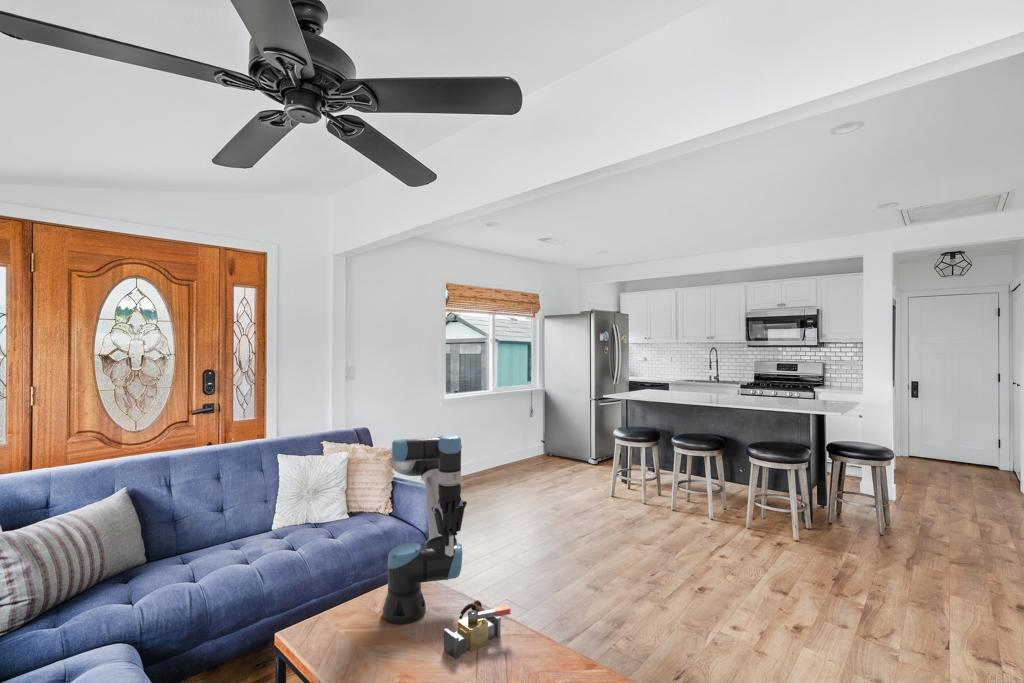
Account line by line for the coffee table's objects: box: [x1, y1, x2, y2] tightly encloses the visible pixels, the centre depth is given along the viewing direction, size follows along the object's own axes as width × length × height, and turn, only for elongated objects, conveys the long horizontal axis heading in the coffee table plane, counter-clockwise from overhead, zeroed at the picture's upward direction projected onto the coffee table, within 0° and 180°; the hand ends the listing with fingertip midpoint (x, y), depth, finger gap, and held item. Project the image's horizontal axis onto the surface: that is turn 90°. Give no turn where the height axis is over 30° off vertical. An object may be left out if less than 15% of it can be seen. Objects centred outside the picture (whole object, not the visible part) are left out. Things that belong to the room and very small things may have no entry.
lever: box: [467, 605, 511, 623], centre depth 161 cm, size 14×3×2 cm, turn 111°
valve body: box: [443, 616, 502, 661], centre depth 159 cm, size 7×18×7 cm, turn 132°
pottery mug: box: [458, 599, 486, 620], centre depth 170 cm, size 12×10×8 cm
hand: (449, 554), depth 164 cm, fingers closed
